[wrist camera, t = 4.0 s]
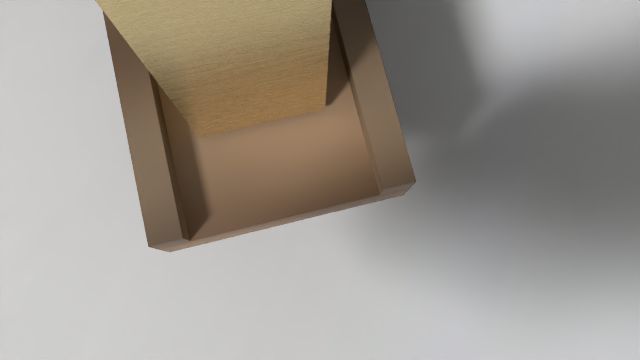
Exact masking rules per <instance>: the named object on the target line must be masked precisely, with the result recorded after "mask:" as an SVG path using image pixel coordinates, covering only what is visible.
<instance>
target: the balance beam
mask: <svg viewBox="0 0 640 360" xmlns="http://www.w3.org/2000/svg"><path fill="white" fill-rule="evenodd" d="M103 14H104V20H105V25H106V30H107V35H108V40H109V45H110V51H111V56H112V61H113V66H114V71H115V76H116V82H117V87H118V92H119V97H120V102H121V107H122V113H123V118H124V123H125V128H126V133H127V138H128V144H129V149H130V154H131V159H132V164H133V169H134V175H135V180H136V185H137V190H138V195H139V200H140V206H141V211H142V216H143V221H144V226H145V231H146V237H147V242H148V247H151V248H155V249H159V250H163V251H167V252H172V251H176V250H180V249H185V248H189V247H193V246H197V245H201V244H205V243H209V242H213V241H217V240H221V239H225V238H229V237H234V236H238V235H242V234H246V233H250V232H254V231H258V230H262V229H266V228H270V227H274V226H278V225H283V224H287V223H291V222H295V221H299V220H303V219H307V218H311V217H315V216H319V215H323V214H327V213H332V212H336V211H340V210H344V209H348V208H352V207H356V206H360V205H364V204H368V203H372V202H376V201H381V200H385V199H389V198H393V197H397V196H401V195H404V194H405V193H406V192H407V191H408V189H409V188H410V187H411V186H412V185H413V184H414V183H415V182H416V180H415V176H414V173H413V169H412V165H411V162H410V158H409V155H408V151H407V148H406V144H405V141H404V137H403V133H402V130H401V126H400V123H399V119H398V116H397V112H396V109H395V105H394V102H393V98H392V94H391V91H390V87H389V84H388V80H387V77H386V73H385V70H384V66H383V62H382V59H381V55H380V52H379V48H378V45H377V41H376V38H375V34H374V31H373V27H372V23H371V20H370V16H369V13H368V9H367V6H366V2H365V0H332V5H331V21H330V38H329V54H328V71H327V88H326V104H325V109H324V110H320V111H315V112H311V113H307V114H303V115H298V116H294V117H290V118H286V119H281V120H277V121H273V122H268V123H264V124H260V125H256V126H251V127H247V128H243V129H239V130H234V131H230V132H226V133H222V134H217V135H213V136H209V137H205V138H199V136H198V135H197V134H196V133H195V131H194V130H193V129H192V127H191V126H190V125H189V123H188V122H187V121H186V119H185V118H184V117H183V115H182V114H181V113H180V111H179V110H178V109H177V107H176V106H175V105H174V103H173V102H172V101H171V100H170V98H169V97H168V96H167V94H166V93H165V92H164V90H163V89H162V88H161V86H160V85H159V84H158V82H157V81H156V80H155V78H154V77H153V76H152V74H151V73H150V72H149V71H148V69H147V68H146V67H145V65H144V64H143V63H142V61H141V60H140V59H139V57H138V56H137V55H136V53H135V52H134V51H133V49H132V48H131V47H130V45H129V44H128V43H127V41H126V40H125V39H124V38H123V36H122V35H121V34H120V32H119V31H118V30H117V28H116V27H115V26H114V24H113V23H112V22H111V20H110V19H109V18H108V16H107V15H106V14H105V12H104V11H103Z"/></svg>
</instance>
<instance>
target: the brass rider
mask: <svg viewBox="0 0 640 360" xmlns="http://www.w3.org/2000/svg"><path fill="white" fill-rule="evenodd" d="M95 1H96V2H97V3H98V5H99V6H100V7H101V8H102V10H103V11H104V12H105V14H106V15H107V16H108V18H109V19H110V20H111V22H112V23H113V24H114V26H115V27H116V28H117V30H118V31H119V32H120V34H121V35H122V36H123V38H124V39H125V40H126V41H127V43H128V44H129V45H130V47H131V48H132V49H133V51H134V52H135V53H136V55H137V56H138V57H139V59H140V60H141V61H142V63H143V64H144V65H145V67H146V68H147V69H148V71H149V72H150V73H151V74H152V76H153V77H154V78H155V80H156V81H157V82H158V84H159V85H160V86H161V88H162V89H163V90H164V92H165V93H166V94H167V96H168V97H169V98H170V100H171V101H172V102H173V103H174V105H175V106H176V107H177V109H178V110H179V111H180V113H181V114H182V115H183V117H184V118H185V119H186V121H187V122H188V123H189V125H190V126H191V127H192V129H193V130H194V131H195V133H196V134H197V135H198V136H199V138H205V137H209V136H213V135H217V134H222V133H226V132H230V131H234V130H239V129H243V128H247V127H251V126H256V125H260V124H264V123H268V122H273V121H277V120H281V119H286V118H290V117H294V116H298V115H303V114H307V113H311V112H315V111H320V110H324V109H325V104H326V88H327V71H328V54H329V38H330V21H331V5H332V0H95Z"/></svg>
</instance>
